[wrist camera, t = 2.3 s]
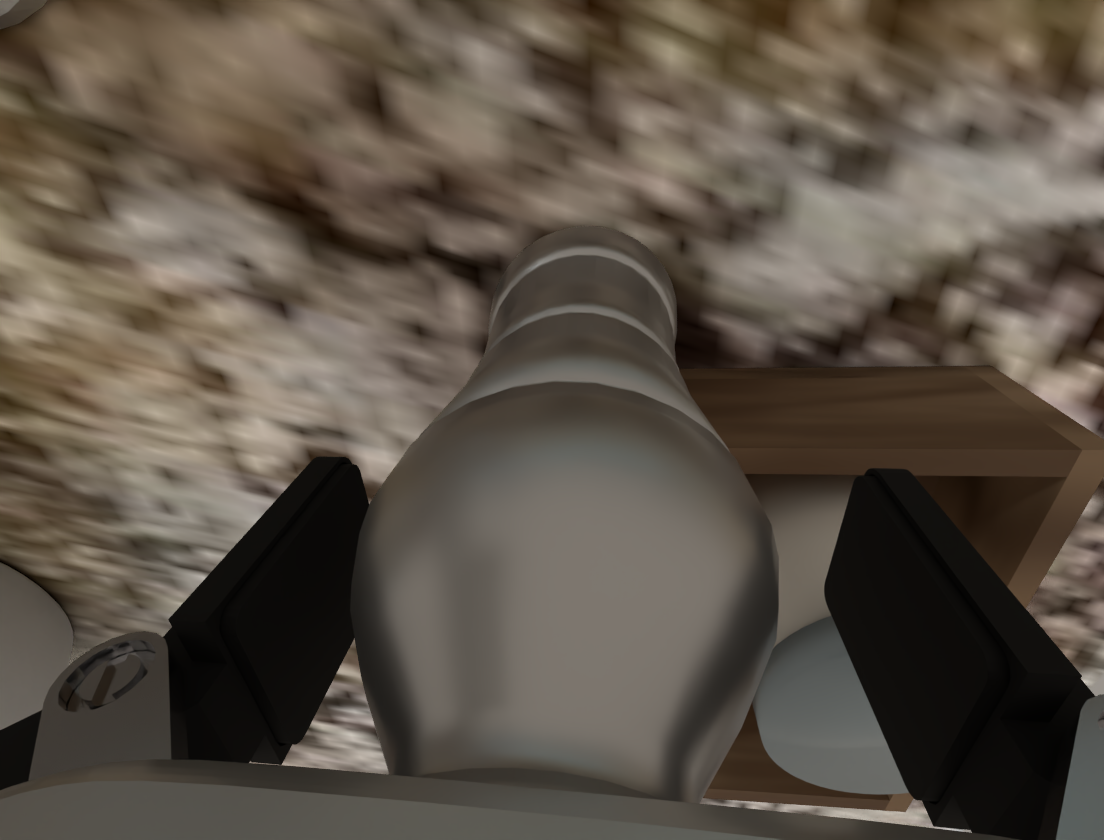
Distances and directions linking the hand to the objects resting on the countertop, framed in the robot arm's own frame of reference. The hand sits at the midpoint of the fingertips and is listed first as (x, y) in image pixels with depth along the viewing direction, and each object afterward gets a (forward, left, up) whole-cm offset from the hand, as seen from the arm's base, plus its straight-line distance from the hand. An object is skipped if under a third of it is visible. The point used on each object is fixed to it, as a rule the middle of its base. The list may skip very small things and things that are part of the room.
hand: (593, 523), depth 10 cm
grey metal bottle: (0, -1, -13) cm, 13 cm away
